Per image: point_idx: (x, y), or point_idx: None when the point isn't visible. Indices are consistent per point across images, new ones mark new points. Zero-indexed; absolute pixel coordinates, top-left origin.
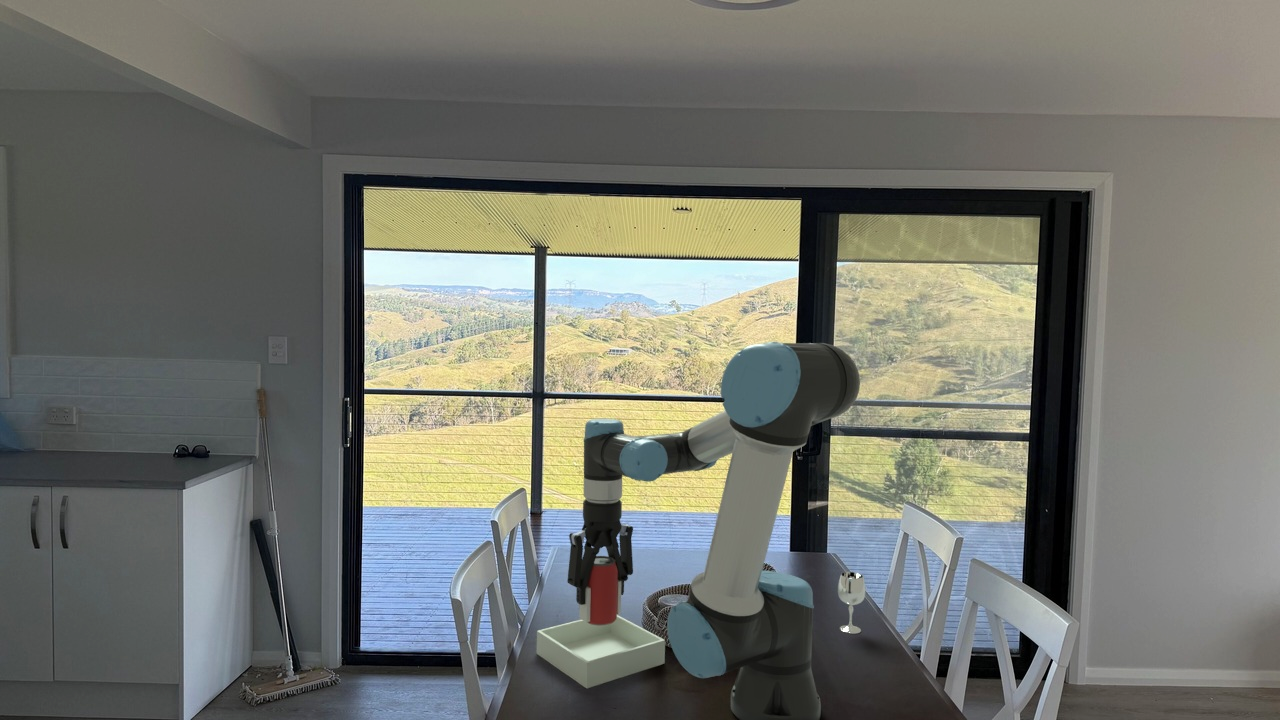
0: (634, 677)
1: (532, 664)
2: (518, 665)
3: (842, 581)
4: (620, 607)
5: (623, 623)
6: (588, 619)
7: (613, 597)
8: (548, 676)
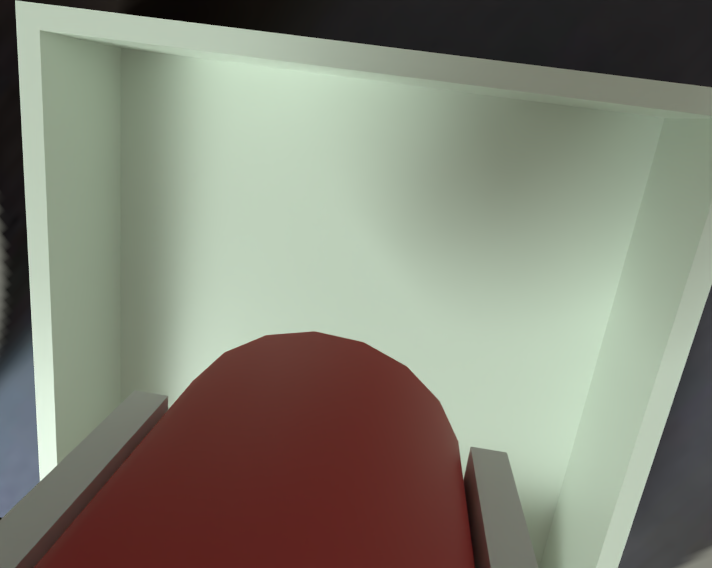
0: (371, 13)
1: (650, 506)
2: (706, 542)
3: None
4: (108, 420)
5: (69, 440)
6: (491, 463)
7: (203, 466)
8: (703, 358)
